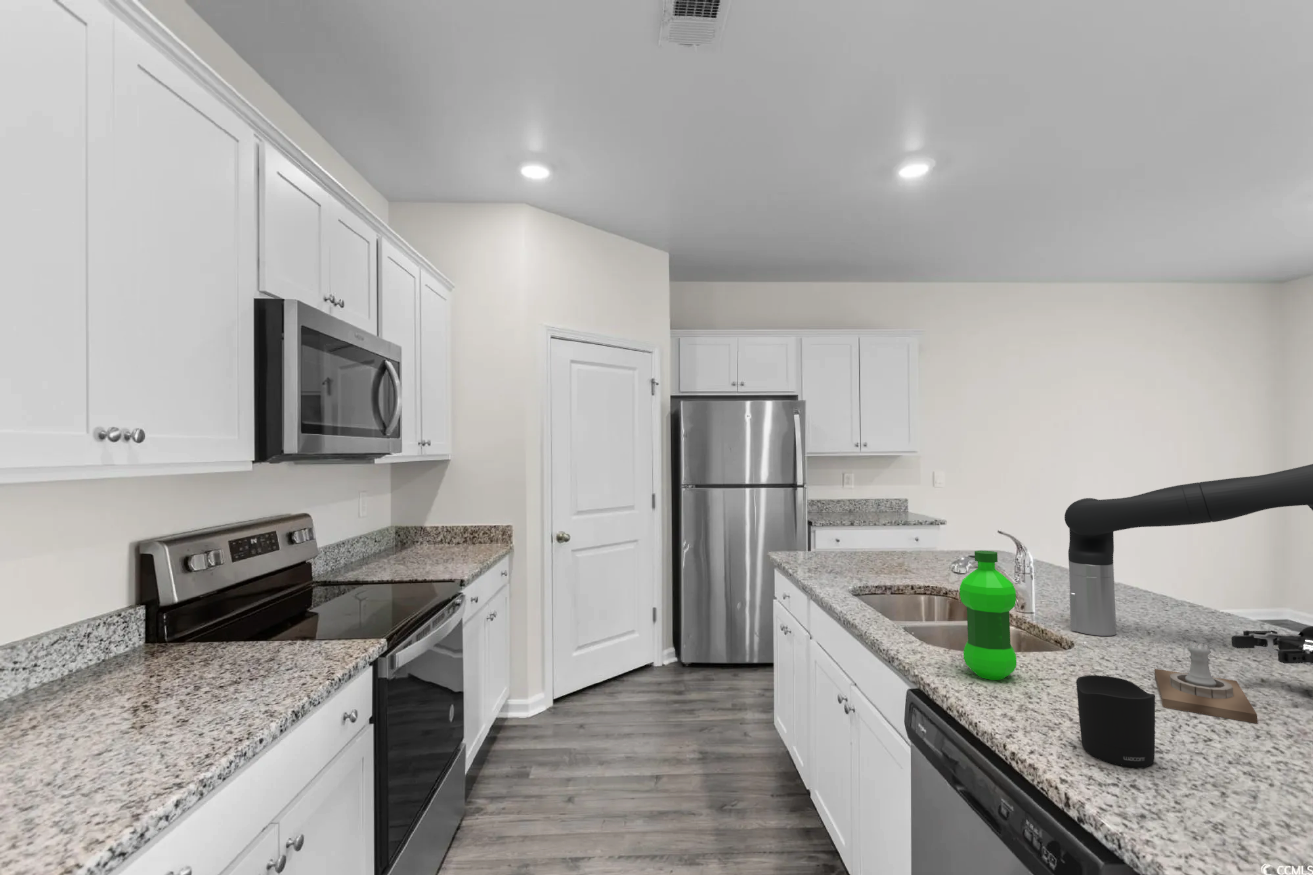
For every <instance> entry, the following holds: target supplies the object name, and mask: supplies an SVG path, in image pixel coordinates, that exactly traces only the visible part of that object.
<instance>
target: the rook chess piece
mask: <svg viewBox="0 0 1313 875" xmlns="http://www.w3.org/2000/svg"><path fill="white" fill-rule="evenodd" d="M1186 649H1187V651H1189V653H1190V655H1189V659H1190V666H1189V671H1188V672H1187V673H1188V675H1187V676H1186V677H1185V680H1186V681H1187V682H1186V683H1189V684H1193V685H1196V686H1203V687H1209V688H1216V687H1215V685H1217V684H1216V682H1215V680H1214V679H1213V676H1212V674H1211V669H1210V665H1209V664H1210V663H1209V662H1210V661H1211V660H1210V658H1209V655H1210V654H1212V651H1211V649H1209V645H1208V644H1204V643H1200V642H1199V644H1198V645H1197V642H1189V646H1188V647H1187V648H1186Z"/></svg>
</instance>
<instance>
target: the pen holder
mask: <svg viewBox="0 0 1313 875" xmlns="http://www.w3.org/2000/svg"><path fill="white" fill-rule="evenodd" d="M1075 683H1076V685H1075V686H1076V695H1077V705H1078V706H1077V707H1078V708H1077V709H1078V720H1079V728H1080V738H1081V745H1082V747H1083V749H1084V750H1085V751H1086V753H1088V754H1090V755H1091V756H1092V757H1094V758H1096V759H1098V760H1101V761H1103V762H1106V763H1108V764H1112V765H1117V766H1120V767H1125V768H1126V767H1127V768H1134V769H1135V768H1140V769H1141V768H1146V767H1149V766H1151V765H1152V764H1153V763H1154V762H1155V757H1156V755H1155V752H1156V751H1155V750H1156V748H1155V747H1156V745H1155V744H1156V740H1155V739H1156V711H1155V710H1156V694H1154V693H1149V692H1147V691H1145V690H1144V689H1142V688H1141V687H1140V686H1138V685H1137V684H1135V683H1133V682H1132V681H1131V680H1127V679H1124V678H1121V677H1115V676H1109V675H1108V676H1107V675H1099V674H1097V675H1095V674H1094V675H1091V674H1090V675H1089V674H1088V675H1083V676H1078V678H1076V682H1075Z"/></svg>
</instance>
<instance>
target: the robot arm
mask: <svg viewBox="0 0 1313 875" xmlns="http://www.w3.org/2000/svg"><path fill="white" fill-rule="evenodd" d="M1299 506H1308V507H1309V508H1310V510H1311V511H1313V463H1311V464H1307V465H1303V466H1298V467H1295V468H1294V467H1293V468H1290V469H1285V470H1281V471H1276V472H1271V473H1267V474H1261V475H1260V474H1259V475H1252V476H1251V475H1250V476H1241V477H1232V478H1223V479H1216V480H1214V479H1213V480H1206V481H1197V482H1191V483H1185V484H1178V485H1173V486H1169V487H1164V488H1160V489H1155V490H1152V491H1148V492H1144V493H1140V494H1137V495H1132V496H1127V497H1120V498H1105V499H1097V498H1094V497H1092V498H1091V497H1084V498H1081V499H1078V500H1076V501H1074V502H1072V503H1071V504H1069V506H1068V507H1067V509H1066V510H1065V513H1064V521H1065V525H1066V526H1067V528H1068V529H1069V530H1068V531H1069V542H1068V544H1069V545H1068V553H1067V554H1068V573H1069V574H1068V576H1069V577H1068V579H1069V611H1070V612H1069V613H1070V615H1069V616H1070V617H1069V618H1070V631H1071V632H1077V633H1081V634H1086V635H1092V636H1103V637H1107V636H1109V637H1110V636H1115V635H1117V617H1116V615H1117V614H1116V612H1117V611H1116V598H1115V597H1116V594H1115V572H1114V571H1115V569H1114V553H1115V552H1114V551H1115V544H1114V543H1115V542H1114V541H1115V540H1114V532H1117V531H1123V530H1129V529H1134V528H1135V529H1136V528H1146V527H1147V528H1149V527H1150V528H1153V527H1176V526H1189V525H1200V524H1207V523H1208V524H1209V523H1218V522H1223V521H1227V520H1232V519H1236V518H1241V517H1243V516H1248V515H1250V514H1254V513H1257V512H1261V511H1265V510H1269V509H1276V508H1283V507H1284V508H1286V507H1299ZM1242 632H1243V634H1242V635H1232V636H1231V646H1232V648H1234V649H1260V650H1267V652H1268V653H1271V654H1277V660H1278V662H1279V663H1282V664H1289V665H1290V664H1302V665H1306V666H1313V625H1312V626H1306V627H1304V628H1303V629H1302V630H1300V631H1299V633H1298V634H1293V633H1288V634H1281V633H1278V631H1275V630H1243V631H1242ZM1275 646H1277V648H1278V649H1277V648H1274V647H1275Z"/></svg>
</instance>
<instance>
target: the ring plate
mask: <svg viewBox="0 0 1313 875" xmlns="http://www.w3.org/2000/svg"><path fill="white" fill-rule="evenodd" d="M1153 671H1154V679H1155V682H1156V686H1157V690H1158V694H1159V698H1160V701H1161V705H1162V708H1164V709H1165V708H1167V709H1172V710H1177V711H1182V712H1183V711H1184V712H1188V711H1189V712H1188V713H1194V714H1201V715H1206V716H1212V717H1218V718H1222V719H1230V720H1234V721H1235V720H1236V721H1240V722H1245V723H1252V724H1258V714H1257V712H1256V710H1255V709H1254V708H1255V707H1253V705H1252V703H1251V702H1250V700H1249V699H1248V697H1247V696H1246V694H1245V692H1244V690H1243V689H1242V687H1241V686H1240V684H1239V682H1238V681H1237V680H1234V679H1226V678H1219V677H1213V676H1212V677H1213V679H1214V680H1215V682H1216V684H1217V685H1215V687H1216V688H1209V687H1203V686H1196V685H1193V684H1189V683H1186V682H1187V681H1186V680H1185V677H1186V676H1187V675H1188V673H1189V672H1179V671H1173V670H1167V669H1165V670H1164V669H1159V668H1154V670H1153Z"/></svg>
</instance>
